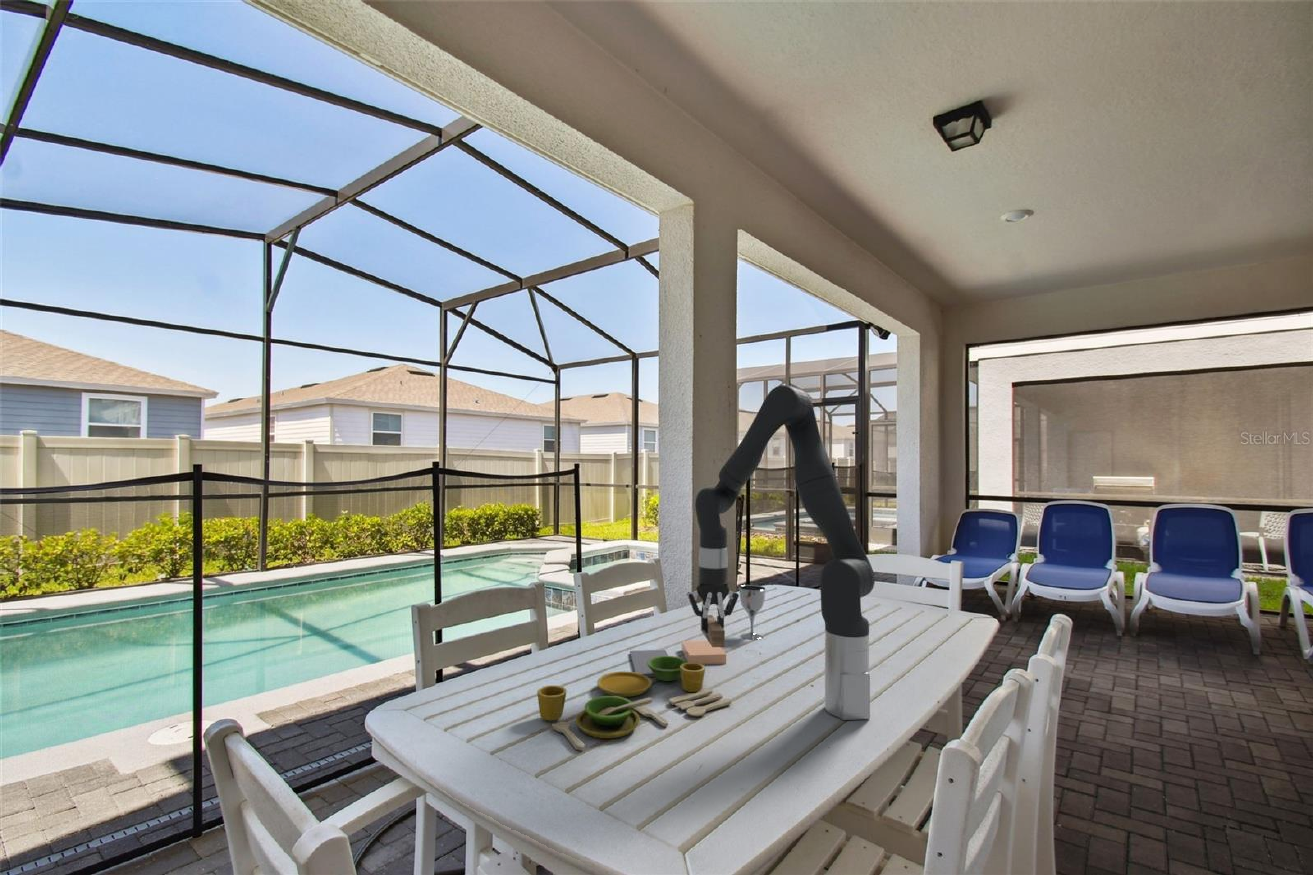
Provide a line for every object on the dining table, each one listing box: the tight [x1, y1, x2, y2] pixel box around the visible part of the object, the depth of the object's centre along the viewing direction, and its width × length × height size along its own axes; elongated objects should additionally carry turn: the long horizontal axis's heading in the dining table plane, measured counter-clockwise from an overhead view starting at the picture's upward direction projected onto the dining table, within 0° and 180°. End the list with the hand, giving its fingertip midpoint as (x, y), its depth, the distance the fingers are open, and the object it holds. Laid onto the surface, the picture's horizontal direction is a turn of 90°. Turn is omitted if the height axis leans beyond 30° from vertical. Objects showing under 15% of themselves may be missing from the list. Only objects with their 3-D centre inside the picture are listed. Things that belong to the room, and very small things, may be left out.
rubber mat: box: [629, 649, 669, 678], centre depth 156 cm, size 18×10×1 cm, turn 7°
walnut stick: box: [700, 614, 726, 648], centre depth 152 cm, size 14×3×4 cm, turn 8°
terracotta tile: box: [681, 640, 727, 666], centre depth 163 cm, size 3×10×12 cm
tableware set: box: [536, 655, 732, 751], centre depth 130 cm, size 41×28×6 cm
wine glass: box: [738, 584, 766, 641], centre depth 183 cm, size 8×8×15 cm
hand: (712, 631), depth 152 cm, fingers closed on walnut stick, 3 cm apart
